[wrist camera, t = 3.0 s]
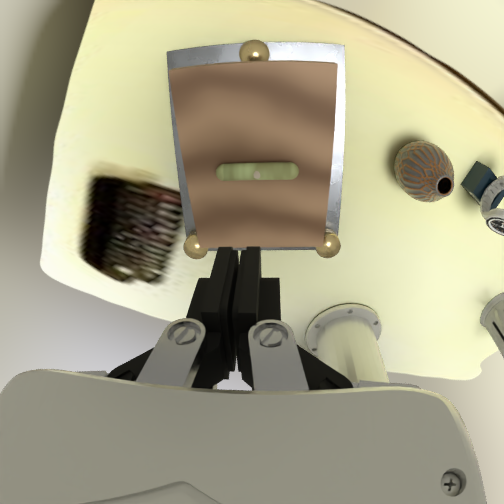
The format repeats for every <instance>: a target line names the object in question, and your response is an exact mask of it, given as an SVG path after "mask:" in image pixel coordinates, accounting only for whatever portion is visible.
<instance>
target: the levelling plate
mask: <svg viewBox="0 0 504 504" xmlns="http://www.w3.org/2000/svg"><path fill="white" fill-rule="evenodd" d="M337 73H338V64H337V63H335V62H323V61H298V60H266V61H240V62H226V63H214V64H204V65H195V66H187V67H180V68H173V69H171V70H169V78H170V85H171V92H172V99H173V105H174V112H175V118H176V124H177V130H178V136H179V142H180V148H181V154H182V160H183V165H184V171H185V176H186V181H187V187H188V192H189V197H190V202H191V207H192V212H193V217H194V222H195V227H196V232H197V237H198V242H199V246H200V248H218V247H233V248H247V246H260V247H323V241H324V234H325V226H326V217H327V208H328V199H329V190H330V180H331V169H332V158H333V145H334V132H335V116H336V98H337Z"/></svg>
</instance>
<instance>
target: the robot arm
mask: <svg viewBox="0 0 504 504" xmlns="http://www.w3.org/2000/svg"><path fill="white" fill-rule="evenodd" d="M380 334H381V322H380V319H379V317H378V315H377V314H376V313H375V312H374V311H373V310H372V309H370V308H369V307H366V306H363V305H358V304H345V305H339V306H336V307H333V308H330V309H328V310H326V311H324V312H323V313H321V314H319V315H318V316H317V317H316V318H315V319H314V320H313V321H312V322H311V324H310V325H309V327H308V329H307V333H306V341H307V346H308V348H309V350H310V351H311V352H312V353H313V354H314V355H315V356H317V357H318V358H316V357H315V356H313V355H312V354H310V353H309V352H307V351H305V350H304V349H302V348H301V347H299V346H298V345H296V341H295V338H294V334H293V331H292V329H291V327H290V326H288V325H287V324H286V323H284V322H282V321H281V310H280V282H279V278H261V249H260V246H247V248H246V250H241V256H240V263H239V258H238V250H233V247H218V251H217V254H216V258H215V261H214V265H213V268H212V272H211V276H210V278H199V279H198V282H197V285H196V288H195V291H194V294H193V297H192V300H191V304H190V307H189V310H188V313H187V316H186V318H183V319H178V320H176V321H173V322H172V323H170V324H169V325H168V326H167V327H166V328H165V330H164V331H163V333H162V335H161V337H160V338H159V340H158V342H157V344H156V346H155V347H154V348H152V349H150V350H148V351H147V352H145V353H143V354H141V355H139V356H137V357H135V358H133V359H132V360H130V361H128V362H126V363H124V364H122V365H120V366H118V367H117V368H115V369H114V370H112V371H111V372H110V373H109V374H107V372H106V371H87V372H86V371H85V372H72V371H65V370H55V369H37V370H30V371H26V372H23V373H20V374H18V375H16V376H15V377H13V378H12V379H11V380H10V381H9V382H8V384H7V385H6V386H5V388H4V389H3V390H2V392H1V394H0V504H487V502H486V496H485V492H484V487H483V482H482V477H481V473H480V469H479V465H478V461H477V458H476V454H475V451H474V448H473V445H472V442H471V439H470V436H469V434H468V431H467V429H466V426H465V424H464V422H463V420H462V418H461V416H460V414H459V412H458V411H457V409H456V408H455V407H454V405H453V404H452V403H451V402H450V401H449V400H448V399H447V398H445V397H443V396H442V395H439V394H437V393H434V392H431V391H428V390H422V389H421V388H419V387H418V386H415V385H411V384H400V383H389V379H388V376H387V373H386V369H385V366H384V363H383V359H382V356H381V353H380V350H379V346H378V343H377V340H378V339H379V336H380ZM236 356H237V362H238V370H239V372H241V373H242V380H244V381H245V382H246V383H247V384H248V385H249V386H251V387H252V391H243V390H219V389H217V383H219V382H220V381H222V380H223V379H229V372H230V371H235V364H236Z"/></svg>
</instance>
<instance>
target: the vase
mask: <svg viewBox="0 0 504 504" xmlns="http://www.w3.org/2000/svg"><path fill="white" fill-rule="evenodd" d="M394 170H395V175H396V178H397V181H398V183H399V185H400V186H401V188H402V189H403V190H404V191H405V192H406V193H407V194H408V195H409V196H411V197H412V198H414V199H416V200H419V201H423V202H435V201H438V200H440V199H442V198H443V197H446V196H448V195H450V194H451V192H452V191H453V188H454V181H453V180H454V171H453V166H452V163H451V161H450V159H449V158H448V156H447V155H446V154H445V152H444V151H443V150H442V149H440V148H439V147H438V146H436V145H434V144H432V143H429V142H426V141H414V142H411V143H408V144H407V145H405V146H404V147H403V148H401V150H400V151H399V152H398V154H397V156H396V159H395V165H394Z"/></svg>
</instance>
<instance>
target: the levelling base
mask: <svg viewBox="0 0 504 504" xmlns="http://www.w3.org/2000/svg"><path fill="white" fill-rule="evenodd" d="M266 60H298V61H323V62H335V63H337V64H338V73H337V98H336V116H335V132H334V145H333V158H332V169H331V180H330V190H329V199H328V208H327V217H326V226H325V234H324V241H323V247H260V249H261V250H316V251H317V253H318V254H319V255H320V256H321V257H324V258H331V257H333V256H335V255H336V254H337V253H338V252H339V250H340V247H341V245H340V241H339V239H338V228H339V217H340V205H341V192H342V177H343V158H344V133H345V50H344V45H337V44H324V43H304V42H262V41H259V40H250V41H247V42H245V43H237V44H223V45H213V46H204V47H195V48H188V49H181V50H175V51H168V52H167V64H168V79H169V92H170V104H171V115H172V126H173V136H174V145H175V154H176V162H177V171H178V179H179V187H180V194H181V201H182V209H183V216H184V222H185V229H186V236H187V239H186V241H185V243H184V251H185V253H186V254H187V255H188V256H189V257H191V258H193V259H201V258H203V257H204V256H205V255H206V254H207V251H218V248H200V246H199V242H198V237H197V232H196V227H195V222H194V217H193V212H192V207H191V202H190V197H189V192H188V187H187V181H186V176H185V171H184V165H183V160H182V154H181V148H180V142H179V136H178V130H177V124H176V118H175V112H174V105H173V99H172V92H171V85H170V78H169V70H171V69H173V68H180V67H187V66H195V65H204V64H214V63H226V62H240V61H266ZM233 250H246V248H233Z"/></svg>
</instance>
